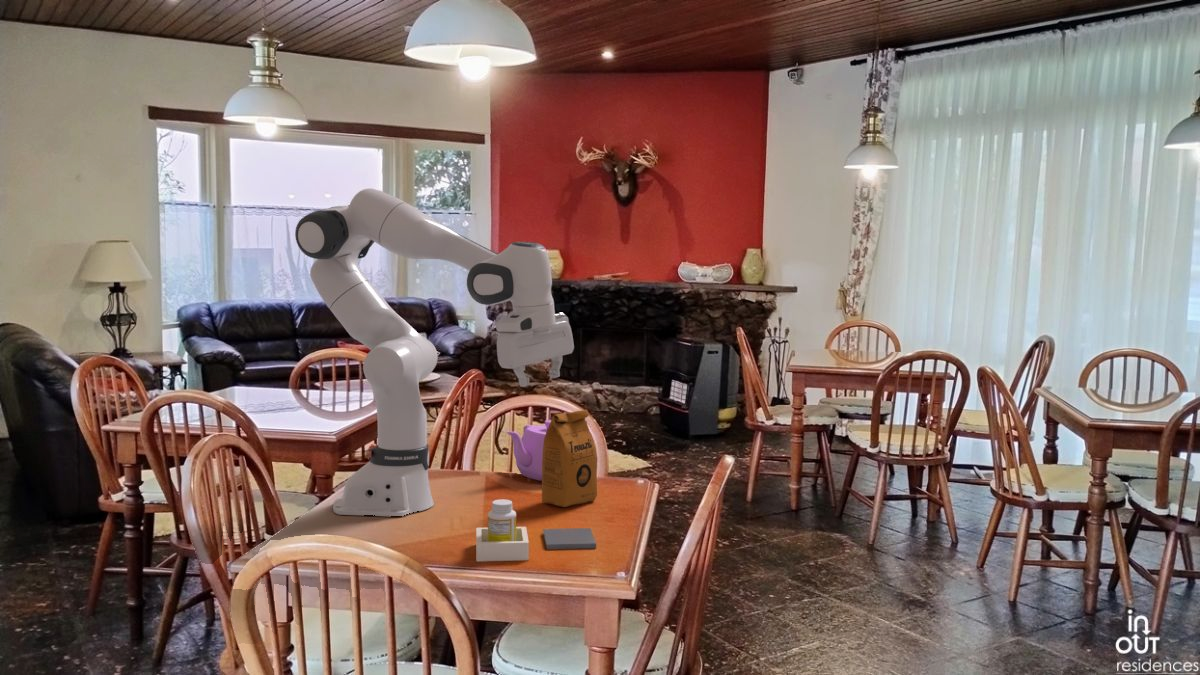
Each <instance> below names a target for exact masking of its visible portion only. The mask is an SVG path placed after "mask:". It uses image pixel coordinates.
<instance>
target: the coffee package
mask: <svg viewBox="0 0 1200 675" xmlns="http://www.w3.org/2000/svg"><path fill="white" fill-rule="evenodd" d="M587 417H589V411H588V409H584V410H577V411H569V412H562V413H555V414H553V415H552V417H551V419H550V420H551V422H550V424H549V428H548V429H547V432H546V435H545V437H544V444H543V460H542V481H541V487H542V488H541V502H542V503H543V504H549V505H555V506H557V507H563V508H566V507H571V506H575V505H581V504H586V503H589V502H594V501H595V500H596V498H597V496H598V481H597V480H598V479H597V478H598V476H597V474H598V455H597V448H596V446H595V443H594V439H593V436H592V435H591V434H592V433H591V432H590V428H589V426H588V422H587V420H586V418H587Z"/></svg>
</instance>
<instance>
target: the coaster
mask: <svg viewBox="0 0 1200 675" xmlns="http://www.w3.org/2000/svg"><path fill="white" fill-rule="evenodd" d="M542 535H543V538H544V543H545V547H546V550H571V549H572V550H574V549H575V550H576V549H577V550H578V549H579V550H581V549H597V541H596V539H595V536H594V534H593V532H592V529H591V528H590V527H583V528H582V527H579V528H576V527H575V528H573V527H572V528H544V529H542Z"/></svg>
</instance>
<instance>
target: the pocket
mask: <svg viewBox="0 0 1200 675" xmlns="http://www.w3.org/2000/svg"><path fill="white" fill-rule="evenodd" d="M475 531H476V533H475V534H476V535H475V536H476V538H475V542H476V544H475V545H476V547H475V548H476V550H475V551H476V552H475V553H476V554H475V555H476V557H475V558H476V560H475V562H507V561H508V562H509V561H510V562H511V561H512V562H515V561H529V556H530V555H529V553H530V552H529V548H530V542H529V537H528V531H527V526H516V541H503V542H488V527H476V530H475Z"/></svg>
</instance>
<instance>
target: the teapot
mask: <svg viewBox="0 0 1200 675" xmlns="http://www.w3.org/2000/svg"><path fill="white" fill-rule="evenodd" d="M551 420H552V419H547V420H545V421H544V424H543V425H533V424H526V425H524V427H523V434H522V437H521V435H520V434H519V433H518V431H511V430H506V431H505V433H507V434H508V435H510V437H511V438H512V442H513V445H512V446H513V455H514V458H515V465H516V467H517V470H518V472H520V474H521V475H522V476H524V477H527V478H528V479H532V480H536V481H540V482H542V460H543V444H544V437H545V435H546V432H547V429H548V428H549V424H550V422H551Z"/></svg>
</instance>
